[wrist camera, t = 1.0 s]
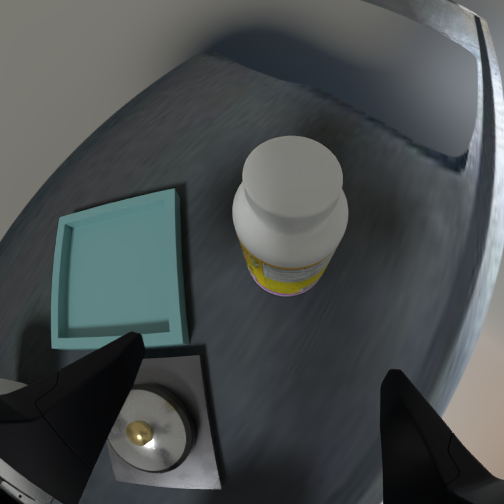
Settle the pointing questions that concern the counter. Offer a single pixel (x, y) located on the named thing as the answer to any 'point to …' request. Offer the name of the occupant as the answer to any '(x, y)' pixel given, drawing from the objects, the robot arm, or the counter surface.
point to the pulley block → (166, 428)
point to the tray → (120, 274)
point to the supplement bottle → (290, 213)
